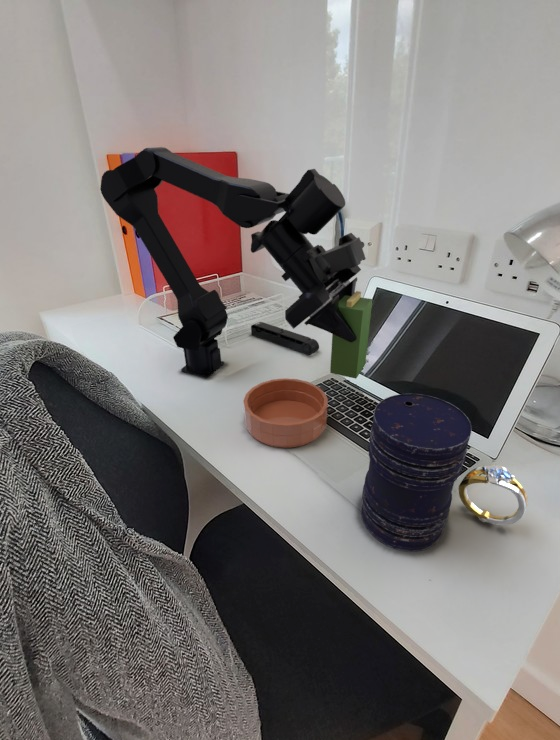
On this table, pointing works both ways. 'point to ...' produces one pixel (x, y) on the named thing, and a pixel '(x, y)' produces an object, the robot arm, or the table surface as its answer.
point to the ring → (496, 477)
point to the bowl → (285, 412)
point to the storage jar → (413, 469)
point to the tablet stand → (285, 338)
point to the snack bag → (357, 314)
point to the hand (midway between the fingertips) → (359, 333)
